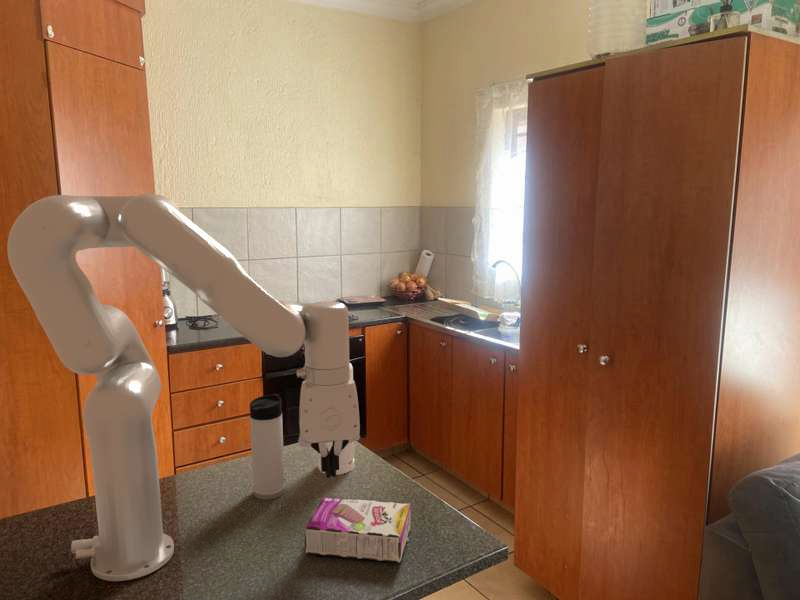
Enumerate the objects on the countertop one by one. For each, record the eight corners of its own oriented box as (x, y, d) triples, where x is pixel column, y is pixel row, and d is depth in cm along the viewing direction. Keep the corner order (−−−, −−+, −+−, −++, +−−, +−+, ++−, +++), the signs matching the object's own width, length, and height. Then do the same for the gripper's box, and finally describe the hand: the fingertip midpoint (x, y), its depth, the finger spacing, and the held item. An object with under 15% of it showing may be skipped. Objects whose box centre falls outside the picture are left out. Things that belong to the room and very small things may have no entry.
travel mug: (292, 489, 120) (289, 396, 117) (269, 503, 115) (265, 406, 111) (270, 481, 123) (266, 391, 120) (247, 494, 118) (242, 400, 115)
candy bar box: (323, 494, 107) (411, 502, 105) (323, 519, 108) (410, 527, 105) (303, 526, 96) (401, 536, 94) (304, 554, 97) (401, 564, 94)
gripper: (285, 384, 94) (289, 489, 97) (375, 376, 98) (376, 478, 101) (281, 371, 101) (285, 470, 104) (365, 364, 105) (367, 460, 108)
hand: (330, 474), depth 103 cm, fingers closed
